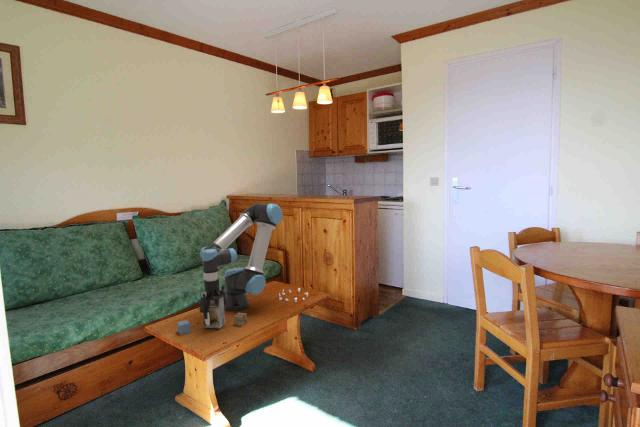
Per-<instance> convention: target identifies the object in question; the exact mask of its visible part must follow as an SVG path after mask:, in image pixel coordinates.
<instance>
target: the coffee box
mask: <svg viewBox="0 0 640 427" xmlns="http://www.w3.org/2000/svg"><path fill="white" fill-rule="evenodd" d="M208 298H210V297H208ZM208 298H206V301H207V300H208ZM208 312H209V317H210V325H207V324H205V319H204V318H203V325H204V328H207V329H221V328H222V327H224V325H225V324H226V318H225V317H226V316H225V309H224V299H223V295H220V294H219V296H217V295H216V296H214V297H212V298H211V300H210V305H209V309H208ZM202 314H203V315H204V313H202Z"/></svg>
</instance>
